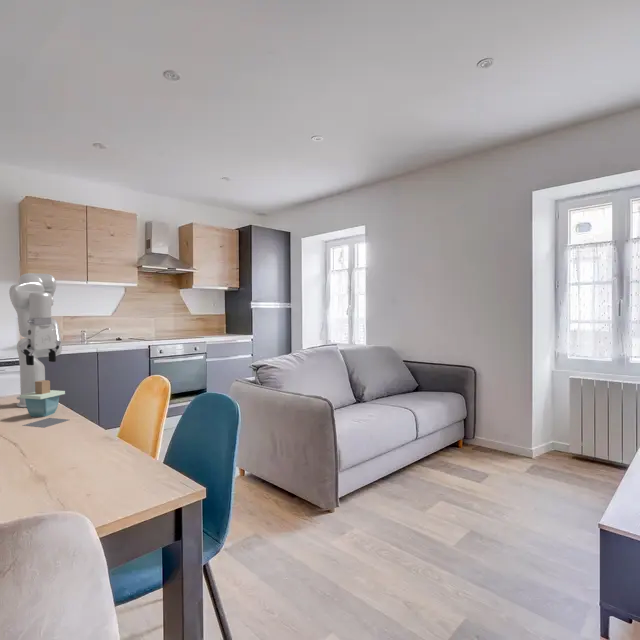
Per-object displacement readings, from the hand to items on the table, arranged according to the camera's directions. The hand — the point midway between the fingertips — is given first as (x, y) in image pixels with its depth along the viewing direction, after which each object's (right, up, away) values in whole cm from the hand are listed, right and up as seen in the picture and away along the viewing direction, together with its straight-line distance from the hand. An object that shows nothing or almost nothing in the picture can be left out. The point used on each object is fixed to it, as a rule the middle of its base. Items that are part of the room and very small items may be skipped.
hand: (41, 363), depth 167 cm
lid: (+1, -14, 0) cm, 14 cm away
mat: (+10, -23, -12) cm, 27 cm away
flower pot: (+1, -23, 0) cm, 23 cm away
